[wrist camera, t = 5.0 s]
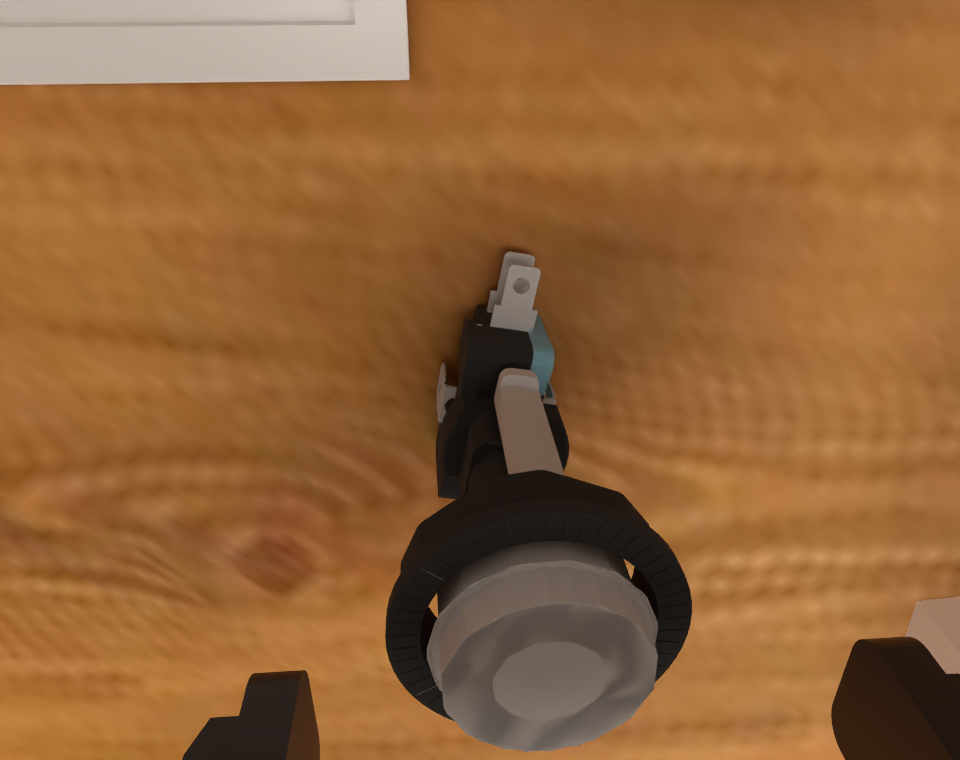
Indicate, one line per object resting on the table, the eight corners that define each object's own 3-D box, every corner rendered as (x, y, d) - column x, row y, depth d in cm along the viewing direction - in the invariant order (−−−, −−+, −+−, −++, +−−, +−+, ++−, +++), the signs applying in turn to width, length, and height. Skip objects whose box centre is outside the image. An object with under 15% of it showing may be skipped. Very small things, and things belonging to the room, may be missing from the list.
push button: (417, 230, 18) (422, 463, 9) (619, 262, 19) (796, 502, 10) (384, 449, 21) (365, 777, 12) (559, 467, 22) (656, 787, 13)
